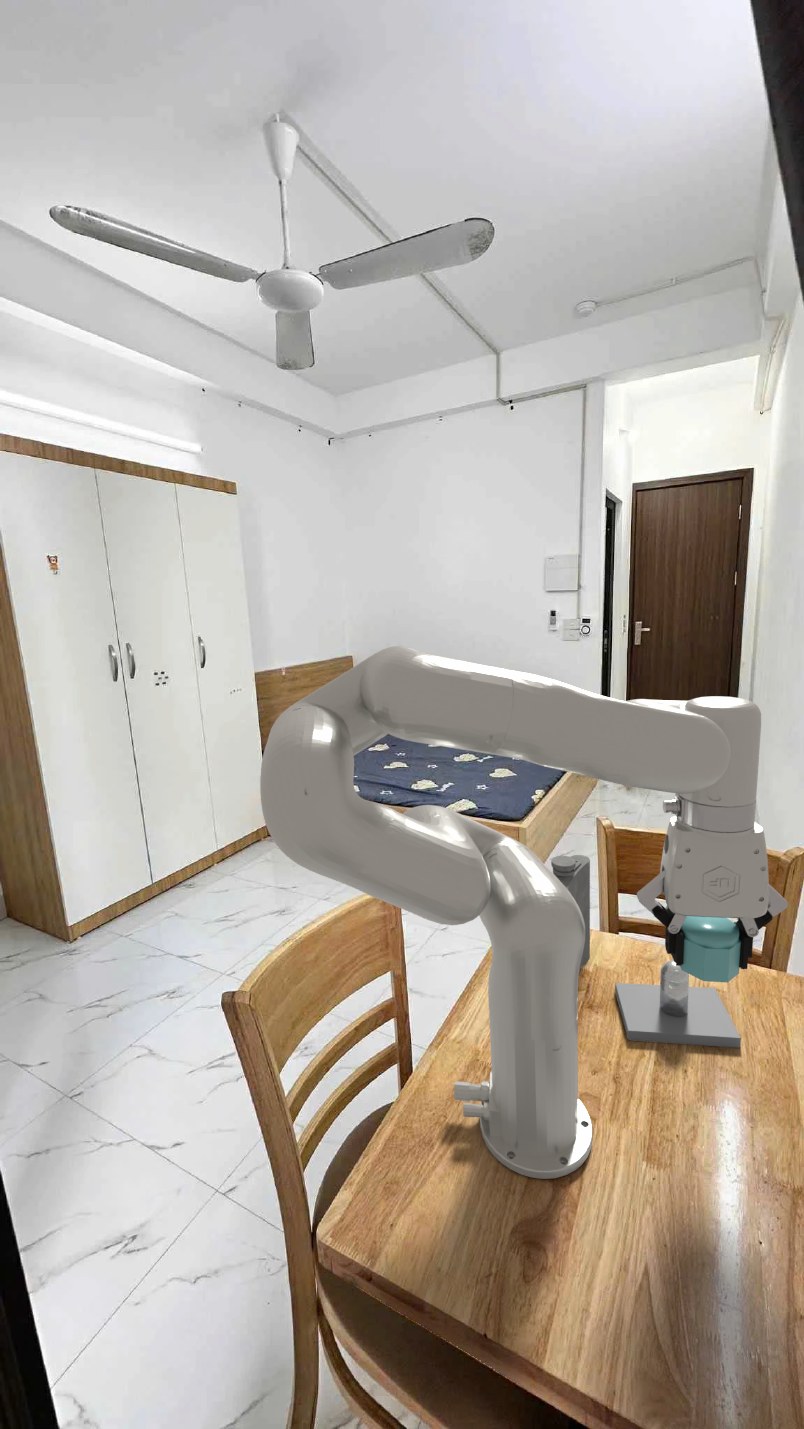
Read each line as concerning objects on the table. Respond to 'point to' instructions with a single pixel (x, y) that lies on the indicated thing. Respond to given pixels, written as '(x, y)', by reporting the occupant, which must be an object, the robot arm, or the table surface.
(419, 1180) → the table surface
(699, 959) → the cap
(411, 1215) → the table surface
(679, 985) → the steel stud
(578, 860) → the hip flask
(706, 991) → the stud base
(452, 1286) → the table surface
